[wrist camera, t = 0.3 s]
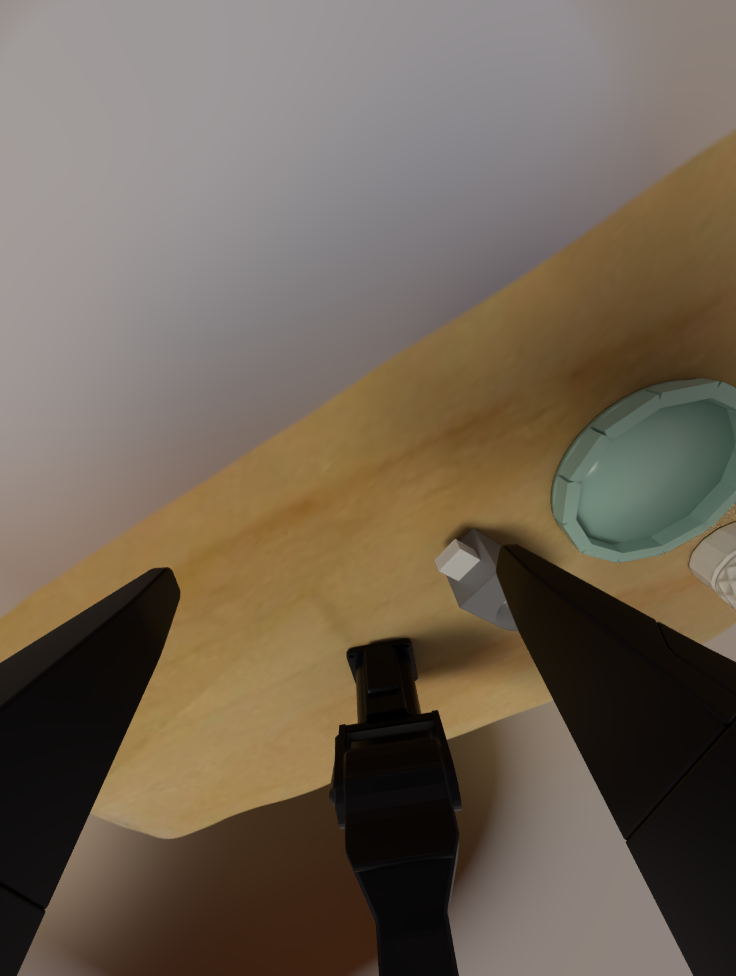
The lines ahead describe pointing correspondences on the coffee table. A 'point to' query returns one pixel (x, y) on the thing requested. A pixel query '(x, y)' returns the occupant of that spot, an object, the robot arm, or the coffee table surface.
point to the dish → (649, 471)
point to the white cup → (717, 563)
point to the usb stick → (476, 578)
